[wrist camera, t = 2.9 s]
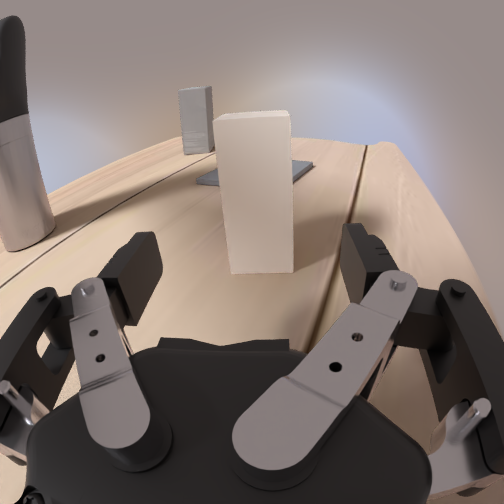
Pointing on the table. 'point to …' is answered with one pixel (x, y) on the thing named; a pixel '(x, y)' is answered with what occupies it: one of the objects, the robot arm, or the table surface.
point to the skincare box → (196, 119)
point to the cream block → (256, 189)
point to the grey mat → (297, 171)
